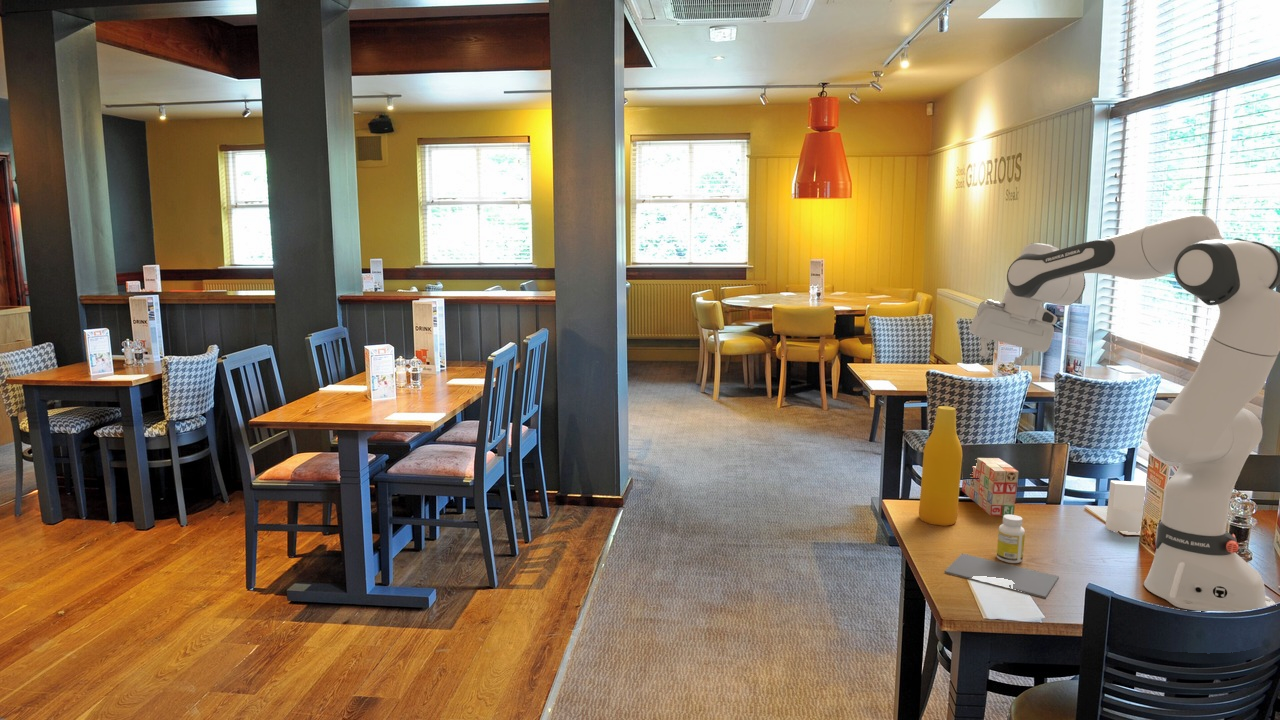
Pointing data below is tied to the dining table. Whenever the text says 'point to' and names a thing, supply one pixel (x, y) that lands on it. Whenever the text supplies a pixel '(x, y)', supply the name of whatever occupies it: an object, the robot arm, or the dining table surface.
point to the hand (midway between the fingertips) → (1000, 360)
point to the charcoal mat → (1004, 574)
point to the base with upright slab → (1125, 506)
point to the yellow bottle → (941, 471)
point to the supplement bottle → (1011, 539)
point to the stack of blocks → (993, 486)
